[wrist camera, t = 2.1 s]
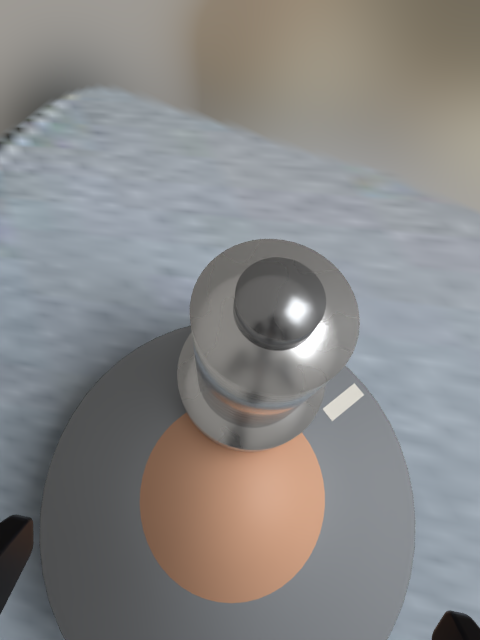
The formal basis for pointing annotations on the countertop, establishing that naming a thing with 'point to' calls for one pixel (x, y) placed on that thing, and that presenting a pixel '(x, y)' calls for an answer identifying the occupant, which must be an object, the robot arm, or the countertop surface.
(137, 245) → the countertop surface
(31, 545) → the robot arm
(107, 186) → the countertop surface
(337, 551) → the turntable
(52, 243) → the countertop surface
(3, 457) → the countertop surface
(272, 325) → the cover
